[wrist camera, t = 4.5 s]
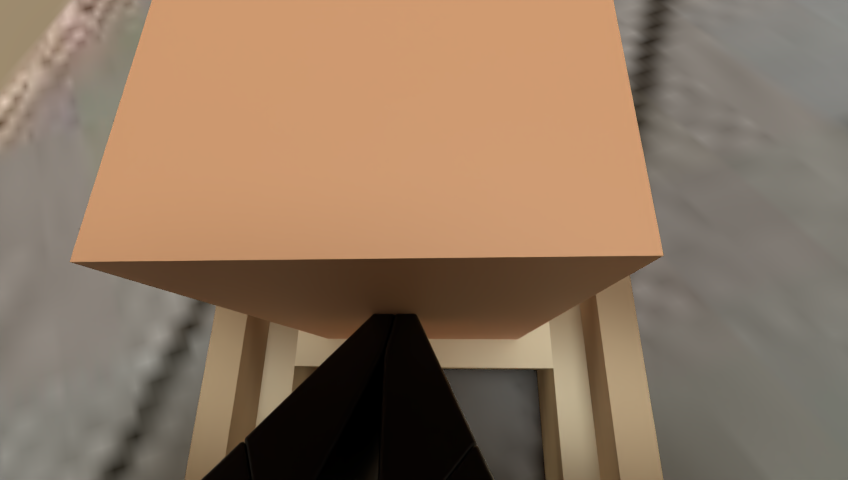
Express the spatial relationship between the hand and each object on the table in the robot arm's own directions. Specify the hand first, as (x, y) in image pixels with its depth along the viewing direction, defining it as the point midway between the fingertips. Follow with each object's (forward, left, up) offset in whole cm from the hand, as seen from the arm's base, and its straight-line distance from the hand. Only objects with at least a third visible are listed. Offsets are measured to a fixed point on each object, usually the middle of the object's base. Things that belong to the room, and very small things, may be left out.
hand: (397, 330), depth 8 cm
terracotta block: (+3, +1, -5) cm, 6 cm away
